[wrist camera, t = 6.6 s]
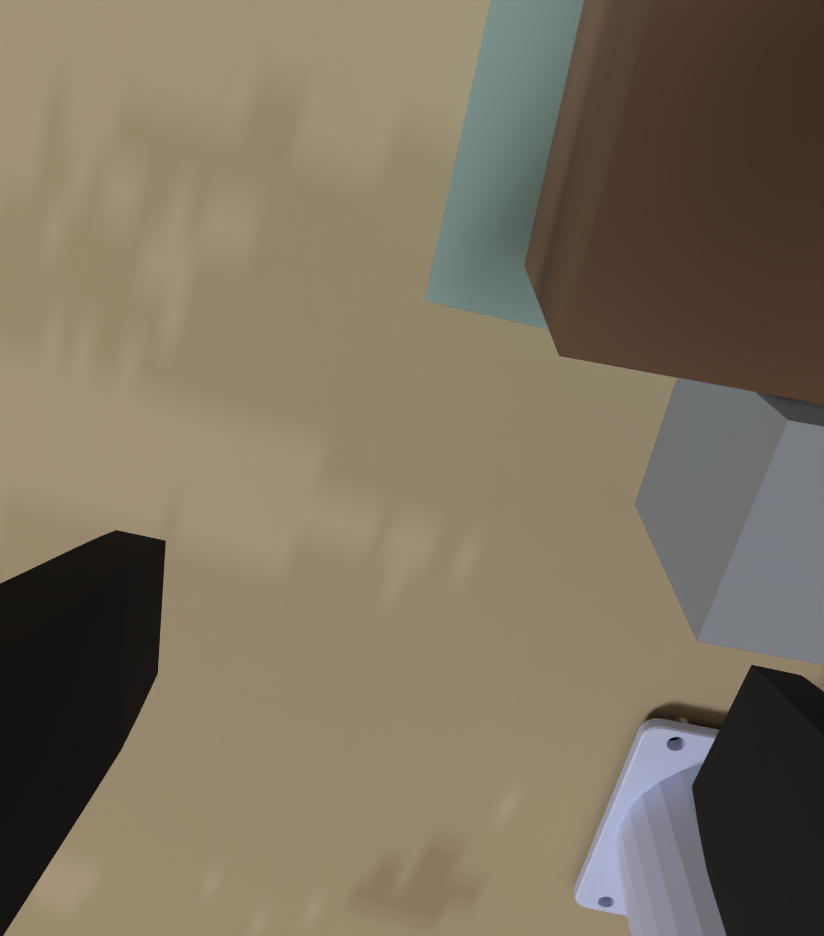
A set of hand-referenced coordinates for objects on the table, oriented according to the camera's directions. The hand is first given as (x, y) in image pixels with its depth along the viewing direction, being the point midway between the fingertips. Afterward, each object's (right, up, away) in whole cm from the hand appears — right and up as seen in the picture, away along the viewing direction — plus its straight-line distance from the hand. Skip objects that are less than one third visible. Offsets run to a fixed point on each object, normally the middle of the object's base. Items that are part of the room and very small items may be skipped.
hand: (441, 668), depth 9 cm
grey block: (+8, +3, +9) cm, 12 cm away
